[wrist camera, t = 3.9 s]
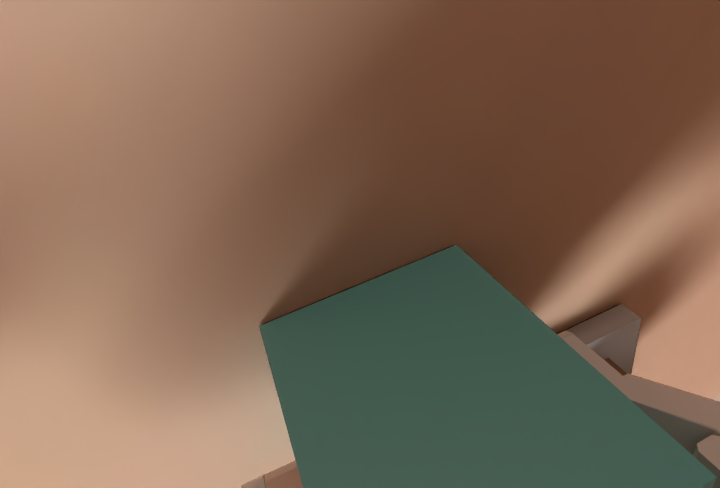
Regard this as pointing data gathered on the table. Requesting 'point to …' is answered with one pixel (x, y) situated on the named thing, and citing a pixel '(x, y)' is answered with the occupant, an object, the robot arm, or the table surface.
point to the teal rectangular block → (455, 392)
